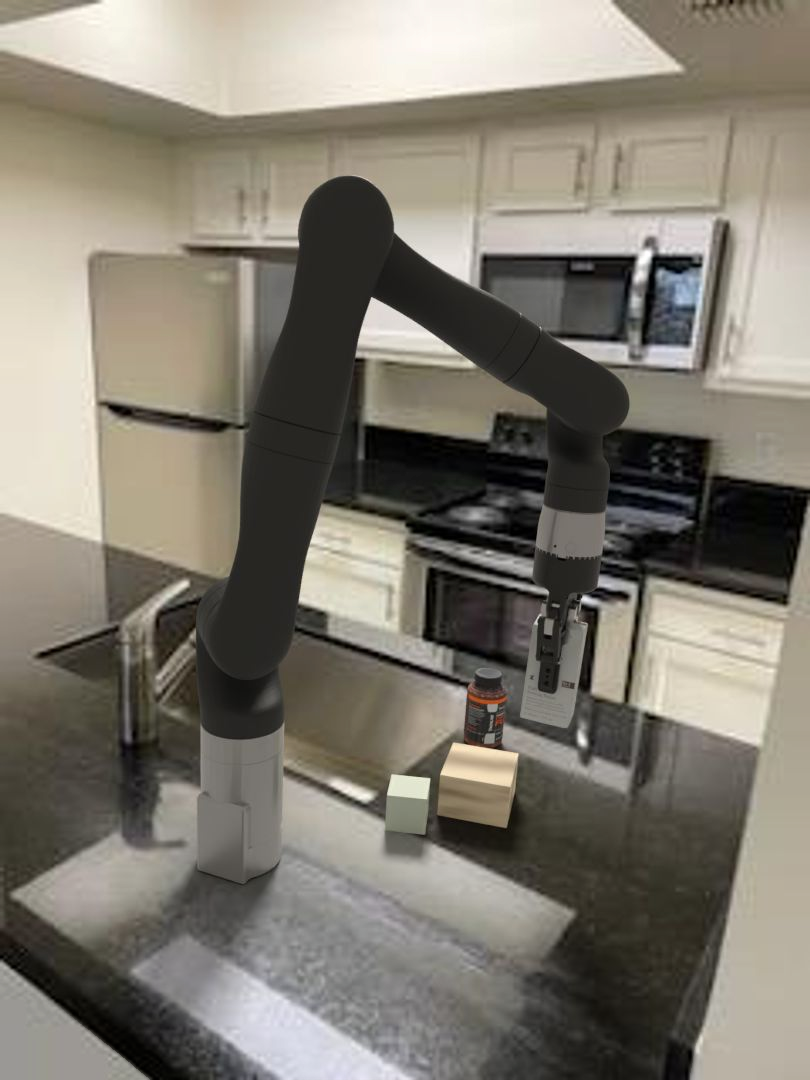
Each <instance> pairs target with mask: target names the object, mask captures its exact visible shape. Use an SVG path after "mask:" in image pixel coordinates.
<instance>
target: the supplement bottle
mask: <svg viewBox="0 0 810 1080" xmlns="http://www.w3.org/2000/svg"><path fill="white" fill-rule="evenodd" d="M502 676H503V674H502V672H501V671H500V670H498V669H495V668H491V667H481V668H478V669H476V670H475V671H474V681H472V682H470V683H469V684H468V686H467V690H466V703H465V713H464V714H465V715H464V725H463V739H464V741H465V742H466V744H467V745H472V746H478V747H484V748H490V749H495V748H496V747H499V746H500V745H501V743H502V742H503V737H504V725H505V715H506V714H505V713H506V705H507V704H506V701H507V694H508V693H507V690H506V687H505V686H504V685H503V684H502V682H503V680H502Z"/></svg>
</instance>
